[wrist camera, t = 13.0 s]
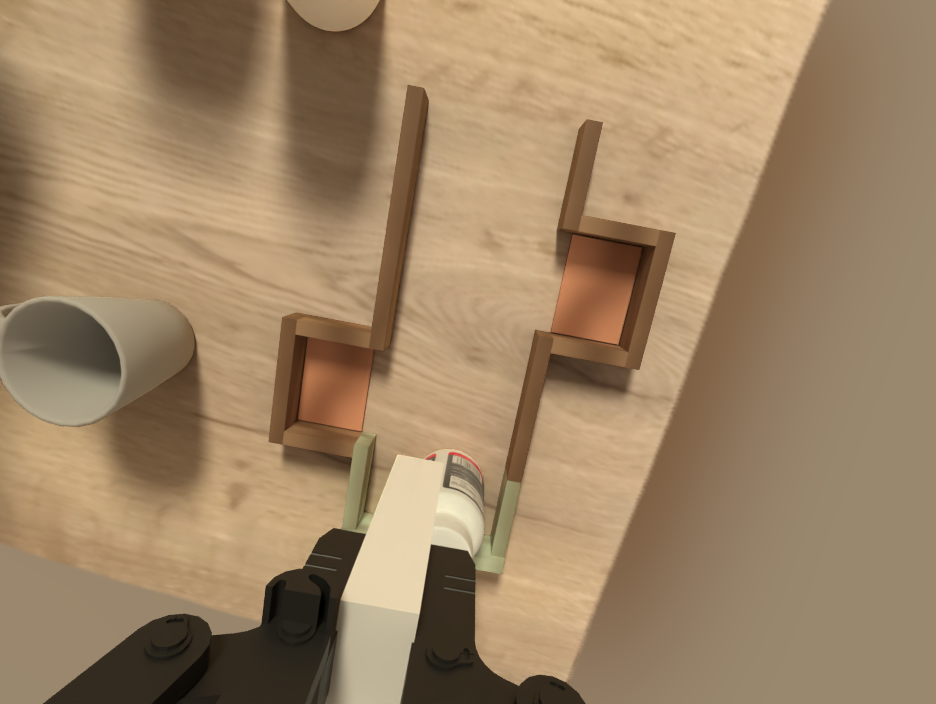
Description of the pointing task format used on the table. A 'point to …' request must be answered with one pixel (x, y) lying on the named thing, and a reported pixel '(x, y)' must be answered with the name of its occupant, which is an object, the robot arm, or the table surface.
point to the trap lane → (577, 314)
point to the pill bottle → (459, 502)
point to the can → (334, 12)
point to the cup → (89, 354)
